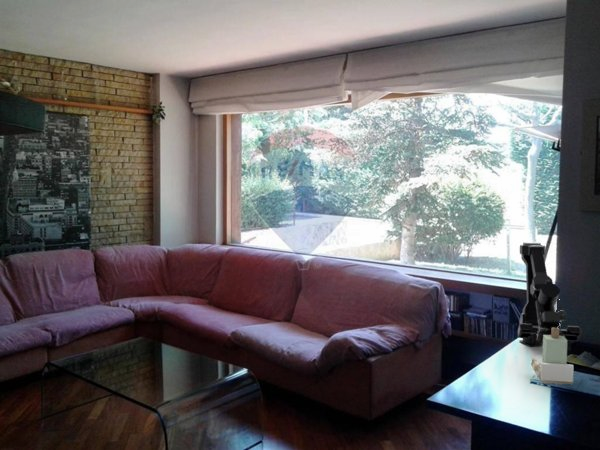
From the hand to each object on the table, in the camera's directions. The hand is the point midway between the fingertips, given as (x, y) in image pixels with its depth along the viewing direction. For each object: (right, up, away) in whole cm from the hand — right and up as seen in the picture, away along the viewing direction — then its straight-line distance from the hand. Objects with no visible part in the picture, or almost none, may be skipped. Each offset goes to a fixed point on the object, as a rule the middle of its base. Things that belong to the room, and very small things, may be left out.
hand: (552, 355), depth 173 cm
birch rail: (0, -6, +1) cm, 7 cm away
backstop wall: (-2, -7, -6) cm, 10 cm away
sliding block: (-1, -5, -2) cm, 6 cm away
